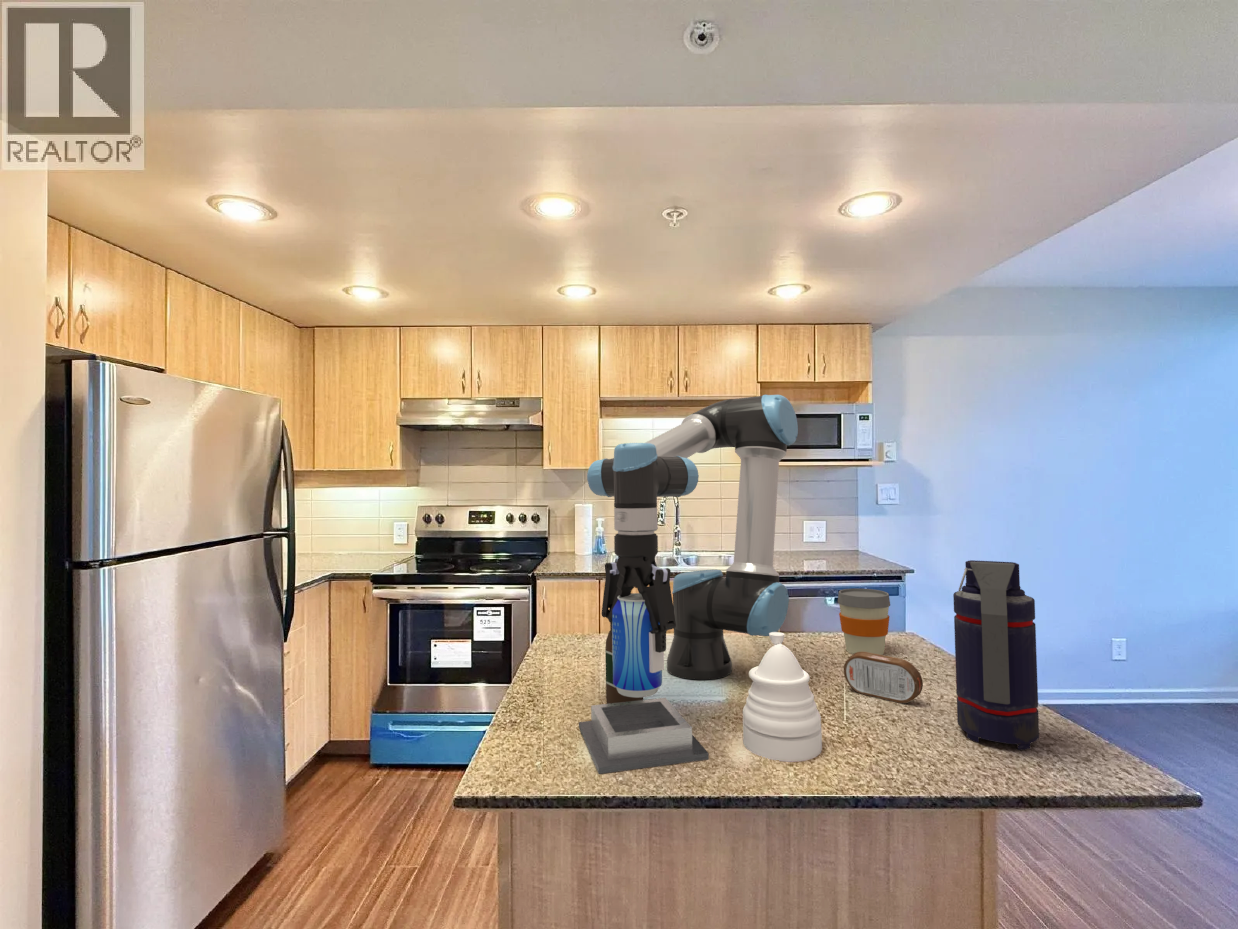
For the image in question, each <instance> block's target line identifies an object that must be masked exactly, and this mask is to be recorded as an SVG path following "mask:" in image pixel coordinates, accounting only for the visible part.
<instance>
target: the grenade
mask: <svg viewBox="0 0 1238 929" xmlns="http://www.w3.org/2000/svg"><path fill="white" fill-rule="evenodd" d="M964 566H965V567H964V572H963V574H962V578H961V581H960V584H959V586H958V591H955V592H953V596H952V597H953V612H954V613H955V615H954V616H953V619H954V622H953V624H954V654H955V656H954V659H955V682H956V683H955V685H956V686H955V688H956V696H957V698H956V717H957V725H958V726H959V727H960V729H962V730H963V731H964V732H965V733H966V738H967V739H969V740H971V741H973V742H975V743H980V739H981V740H986V741H991V742H995V743H1001V744H1007V745H1008V744H1009V745H1017V750H1018V751H1026V750H1029V749H1031V744H1033V743H1035V742H1037V741H1038V740H1039V738H1040V723H1039V722H1040V721H1039V720H1040V719H1039V716H1040V715H1039V710H1038V708H1039V690H1038V686H1039V685H1038V660H1037V657H1038V656H1037V635H1036V634H1037V630H1036V628H1037V627H1036V622H1034V620H1035V619H1036V603H1035V602H1036V601H1035V599H1034V598H1033V597H1032V596H1029V595H1026V592H1025V590H1023V589H1022V587H1021V585H1020V584H1021V583H1020V582H1021V581H1020V579H1021V578H1020V564H1019V563H1017V562H1013V561H997V560H995V561H993V560H971V559H970V560H967V561H965V563H964ZM964 581H965V584H964Z"/></svg>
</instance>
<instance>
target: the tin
mask: <svg viewBox="0 0 1238 929" xmlns="http://www.w3.org/2000/svg"><path fill="white" fill-rule="evenodd" d="M843 674H844V675H843V676H844V679H845V682H846V683H847V684H848V685H849V687H851V689H852V690H854V691H855V692H857V693H858V694H861V695H864V696H869V697H872V698H873V697H874V698H876V699H882V700H886V701H890V702H893V703H897V704H898V703H899V704H907V703H910V702H912V701H914V700H916V698H918V697H919V696H920V695H921V693H922V691H923V688H924V687H923V686H924V685H923V684H924V681H923V677H922V675H921V673H920V672H919V670H918V668H917V667H916V666H914V664H912V663H911V662H910V661H908V660H906V659H903V658H898V657H894V656H887V655H884V654H883V655H879V654H874V653H869V652H857V653H854V654H852V655H851V656H849V657H848V658H847V659H846V660H845V663H844V664H843Z"/></svg>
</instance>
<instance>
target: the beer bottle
mask: <svg viewBox="0 0 1238 929" xmlns="http://www.w3.org/2000/svg"><path fill="white" fill-rule="evenodd" d="M610 632H611V631H610V630H609V632H608V634H607V637H606V640H605V649H604V650H605V651H604V652H605V658H604V659H605V700H606V704H610V703H620V702H629V701H639V700H644V697H639V698H636V697H627V696H623V695H621V694H619V693H618V691H617V688H616V687H615V686H614V685H613V656H612V640H611V637H610V634H611V633H610Z"/></svg>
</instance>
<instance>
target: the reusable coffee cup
mask: <svg viewBox="0 0 1238 929" xmlns="http://www.w3.org/2000/svg"><path fill="white" fill-rule="evenodd" d="M837 595H838V596H837V604H839V606H838V607H839V613H838V616H839V623H840V627H841V628H840V629H841V631H842V633H843V637H844V644H845V650H846V652H848V653H849V654H852V655H853V654H854V653H857V652H869V653H874V654H879V655H884V654H885V647H886V646H885V644H886V638H887V636H888V635H889V626H890V625H889V624H890V615H889V611H890V610H889V609H890V606H891V599H890V595H889V593H888V592H887V591H883V590H880V589H872V588H845V589H840V590H839V591H838V594H837Z"/></svg>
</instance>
